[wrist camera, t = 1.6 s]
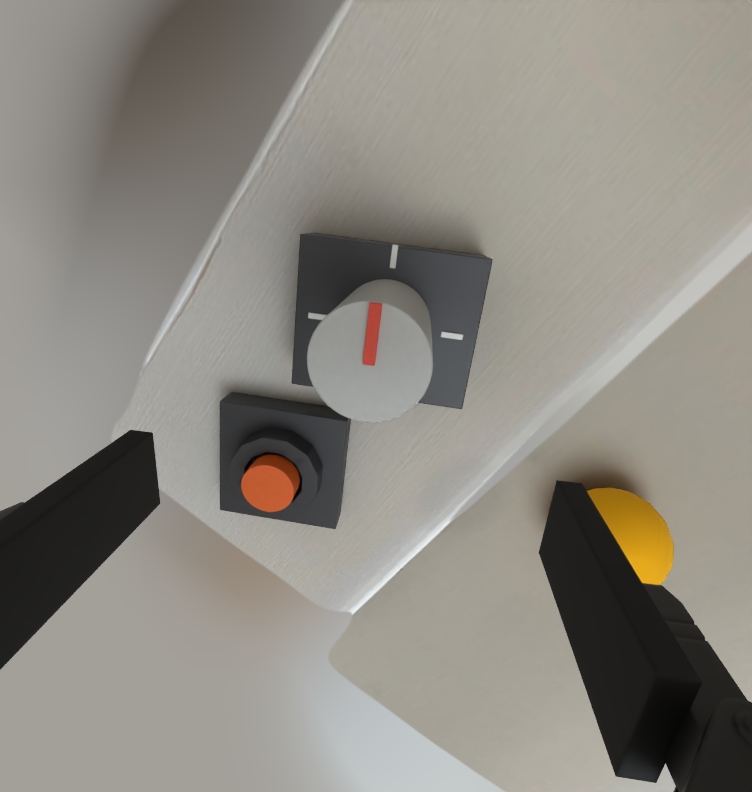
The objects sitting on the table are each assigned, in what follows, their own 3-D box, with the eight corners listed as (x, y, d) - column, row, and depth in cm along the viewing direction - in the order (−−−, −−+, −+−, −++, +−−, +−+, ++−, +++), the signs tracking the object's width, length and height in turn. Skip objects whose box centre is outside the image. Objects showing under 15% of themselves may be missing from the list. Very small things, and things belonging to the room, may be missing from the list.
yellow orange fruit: (572, 568, 40) (603, 641, 33) (527, 501, 38) (550, 563, 31) (663, 529, 38) (717, 598, 31) (620, 455, 36) (668, 512, 29)
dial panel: (305, 368, 36) (290, 385, 32) (314, 231, 32) (299, 232, 28) (457, 391, 35) (461, 411, 31) (485, 253, 32) (493, 257, 28)
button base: (229, 495, 41) (210, 523, 37) (230, 391, 37) (209, 410, 34) (340, 514, 40) (331, 543, 37) (351, 410, 37) (343, 430, 33)
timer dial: (423, 375, 31) (422, 434, 22) (335, 362, 31) (301, 415, 23) (438, 285, 29) (443, 311, 20) (344, 273, 29) (309, 292, 20)
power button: (248, 494, 36) (240, 507, 35) (249, 450, 35) (241, 461, 33) (298, 503, 36) (292, 516, 34) (301, 458, 35) (295, 469, 33)
